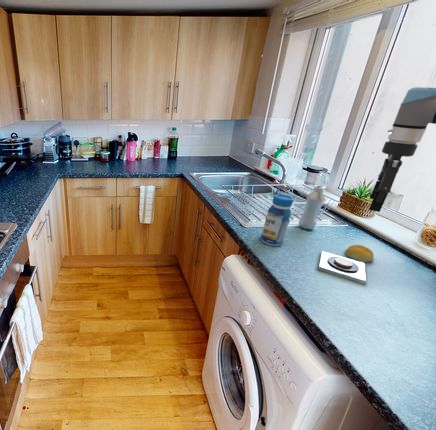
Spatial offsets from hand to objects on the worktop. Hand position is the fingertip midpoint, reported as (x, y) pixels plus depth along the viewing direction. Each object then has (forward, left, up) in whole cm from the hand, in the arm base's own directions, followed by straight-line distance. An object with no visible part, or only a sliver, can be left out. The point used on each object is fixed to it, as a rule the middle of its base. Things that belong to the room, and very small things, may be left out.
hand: (374, 204), depth 98 cm
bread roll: (-3, -6, -23) cm, 24 cm away
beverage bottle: (+26, +3, -23) cm, 35 cm away
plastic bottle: (+16, -21, -23) cm, 35 cm away
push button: (+2, +8, -23) cm, 24 cm away
